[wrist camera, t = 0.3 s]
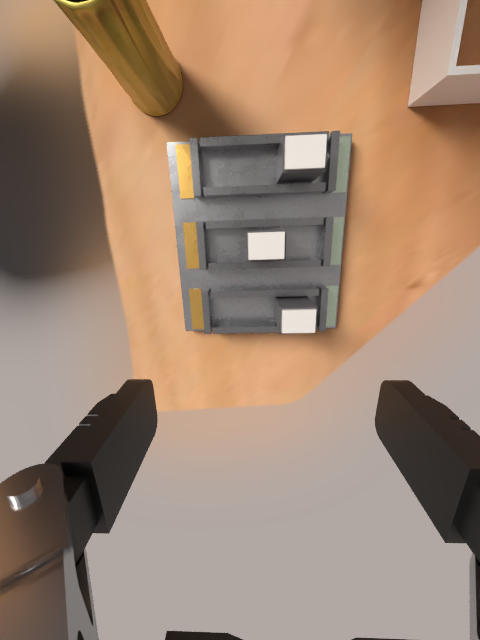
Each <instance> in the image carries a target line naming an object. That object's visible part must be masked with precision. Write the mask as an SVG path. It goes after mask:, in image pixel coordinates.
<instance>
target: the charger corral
mask: <svg viewBox="0 0 480 640" xmlns="http://www.w3.org/2000/svg"><path fill="white" fill-rule="evenodd" d="M467 1H468V0H422V6H421V14H420V21H419V28H418V35H417V43H416V50H415V57H414V65H413V72H412V79H411V87H410V94H409V101H408V107H415V106H435V105H454V104H473V103H480V65H468V66H456V64H457V58H458V52H459V47H460V41H461V35H462V30H463V24H464V18H465V13H466V7H467Z"/></svg>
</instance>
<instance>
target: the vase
mask: <svg viewBox="0 0 480 640" xmlns="http://www.w3.org/2000/svg"><path fill="white" fill-rule="evenodd" d="M54 1H55V2H56V3H57V5H58V6H59V7H60V9H61V10H62V11H63V12H64V13H65V15H66V16H67V17H68V18H69V20H70V21H71V22H72V23H73V24H74V26H75V27H76V28H77V29H78V30H79V31H80V33H81V34H82V35H83V36H84V37H85V39H86V40H87V41H88V43H89V44H90V45H91V47H92V48H93V50H94V51H95V52H96V53H97V55H98V56H99V57H100V59H101V60H102V61H103V62H104V63H105V64H106V65H107V67H108V68H109V70H110V71H111V72H112V74H113V75H114V76H115V78H116V79H117V81H118V82H119V83H120V85H121V86H122V88H123V89H124V90H125V91H126V92H127V94H128V95H129V96H130V97H131V99H132V101H133V102H134V104H135V105H136V106H137V107H138V108H139V109H140V110H142V111H143V112H145V113H147V114H149V115H153V116H160V115H164V114H167V113H169V112H170V111H171V110H172V109H173V108H174V107H175V106H176V105H177V103H178V102H179V99H180V97H181V93H182V86H183V81H182V74H181V70H180V67H179V65H178V63H177V62H176V60H175V59H174V57H173V55H172V53H171V51H170V49H169V47H168V45H167V43H166V41H165V39H164V37H163V34H162V32H161V30H160V28H159V26H158V24H157V22H156V20H155V18H154V16H153V14H152V12H151V10H150V8H149V6H148V3H147V1H146V0H54Z"/></svg>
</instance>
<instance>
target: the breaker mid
mask: <svg viewBox="0 0 480 640" xmlns="http://www.w3.org/2000/svg"><path fill="white" fill-rule="evenodd" d="M246 259H247V262H251V261H285V260H286V229H285V230H255V231H246Z"/></svg>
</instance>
